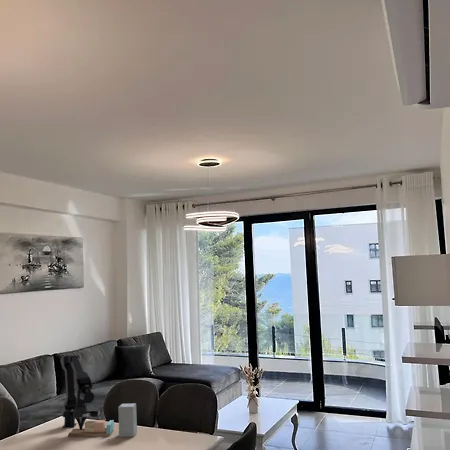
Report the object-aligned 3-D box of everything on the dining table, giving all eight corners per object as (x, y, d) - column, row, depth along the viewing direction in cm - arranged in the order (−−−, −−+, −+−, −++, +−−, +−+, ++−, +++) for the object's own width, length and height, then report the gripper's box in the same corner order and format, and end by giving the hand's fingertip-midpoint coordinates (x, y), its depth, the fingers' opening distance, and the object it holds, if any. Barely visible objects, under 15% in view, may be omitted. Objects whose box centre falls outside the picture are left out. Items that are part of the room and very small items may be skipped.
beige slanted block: (86, 430, 250) (86, 420, 251) (95, 429, 251) (96, 420, 251) (84, 432, 246) (84, 422, 247) (93, 432, 246) (94, 422, 247)
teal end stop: (109, 428, 253) (110, 420, 254) (113, 428, 253) (113, 420, 254) (106, 433, 244) (106, 425, 245) (110, 433, 244) (110, 425, 245)
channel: (73, 431, 252) (73, 428, 252) (113, 430, 253) (113, 427, 253) (68, 437, 243) (68, 433, 244) (110, 436, 244) (110, 432, 244)
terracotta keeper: (95, 429, 251) (96, 420, 251) (105, 429, 251) (105, 420, 251) (93, 432, 246) (94, 422, 247) (103, 432, 246) (103, 422, 247)
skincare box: (137, 433, 248) (137, 402, 250) (133, 437, 241) (133, 406, 243) (121, 433, 249) (122, 402, 251) (117, 437, 242) (118, 406, 244)
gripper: (59, 403, 242) (58, 434, 240) (95, 403, 243) (94, 434, 240) (66, 398, 253) (65, 428, 251) (100, 397, 254) (99, 427, 252)
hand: (81, 429), depth 248 cm, fingers closed
